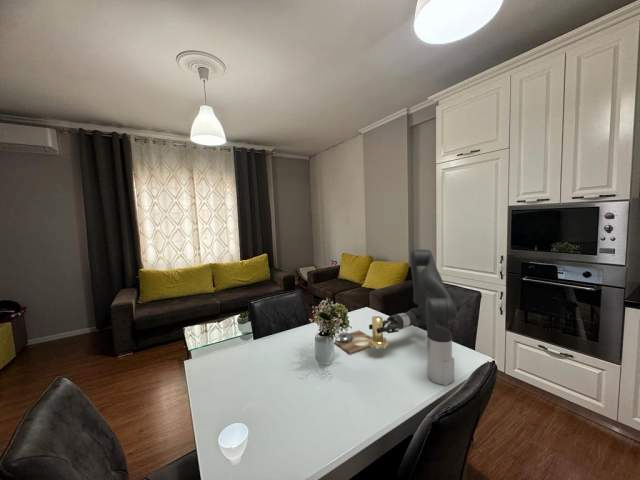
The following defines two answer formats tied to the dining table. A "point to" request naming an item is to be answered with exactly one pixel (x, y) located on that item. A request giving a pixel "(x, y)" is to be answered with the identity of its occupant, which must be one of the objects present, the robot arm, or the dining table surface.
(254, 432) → the dining table surface
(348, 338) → the gear
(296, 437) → the dining table surface
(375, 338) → the cylinder
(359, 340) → the gear board
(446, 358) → the robot arm
